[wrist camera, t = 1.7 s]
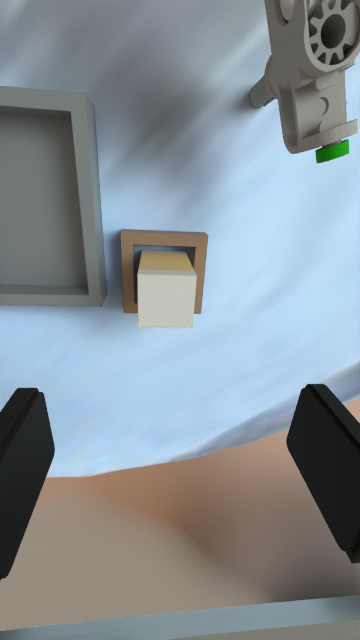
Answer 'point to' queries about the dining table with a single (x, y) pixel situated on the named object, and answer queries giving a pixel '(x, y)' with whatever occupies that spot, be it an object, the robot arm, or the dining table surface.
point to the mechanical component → (311, 72)
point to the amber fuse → (166, 290)
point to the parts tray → (49, 200)
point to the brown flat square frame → (165, 239)
